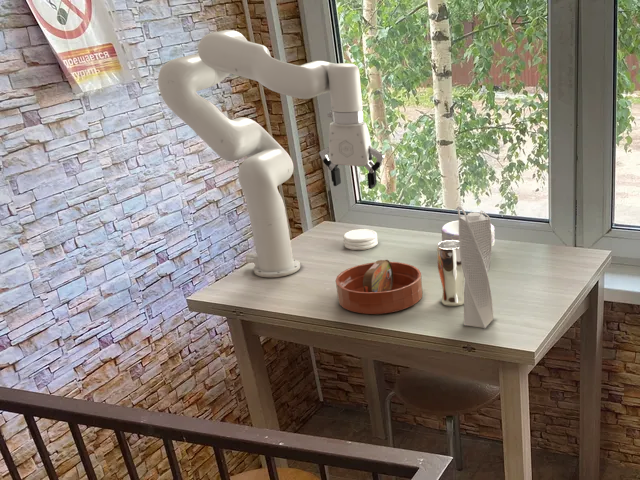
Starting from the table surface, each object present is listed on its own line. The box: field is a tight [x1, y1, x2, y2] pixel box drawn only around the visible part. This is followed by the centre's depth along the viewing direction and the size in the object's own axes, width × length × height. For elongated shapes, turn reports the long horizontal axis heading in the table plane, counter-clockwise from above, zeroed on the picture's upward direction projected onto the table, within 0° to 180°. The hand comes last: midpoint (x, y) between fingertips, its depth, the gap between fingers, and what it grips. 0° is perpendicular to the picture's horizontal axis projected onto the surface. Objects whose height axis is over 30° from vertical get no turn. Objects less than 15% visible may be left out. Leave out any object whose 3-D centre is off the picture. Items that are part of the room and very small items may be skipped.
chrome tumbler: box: [436, 240, 465, 307], centre depth 195 cm, size 7×7×15 cm
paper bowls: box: [440, 219, 496, 247], centre depth 228 cm, size 15×15×8 cm
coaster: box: [343, 228, 379, 251], centre depth 237 cm, size 10×10×4 cm
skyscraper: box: [456, 205, 495, 329], centre depth 181 cm, size 8×8×28 cm
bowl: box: [335, 261, 424, 315], centre depth 200 cm, size 21×21×6 cm
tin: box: [363, 259, 393, 292], centre depth 199 cm, size 15×3×8 cm, turn 168°
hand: (354, 186), depth 204 cm, fingers open, 9 cm apart
